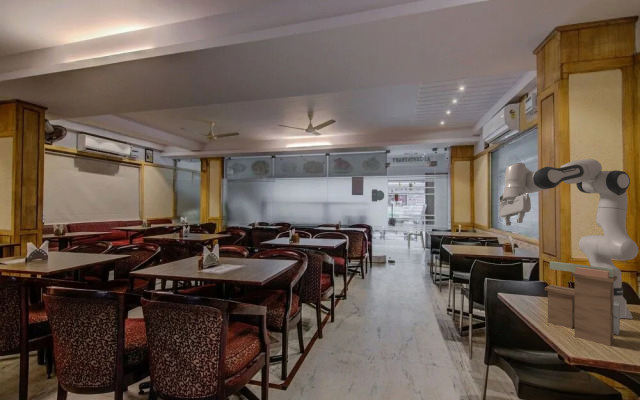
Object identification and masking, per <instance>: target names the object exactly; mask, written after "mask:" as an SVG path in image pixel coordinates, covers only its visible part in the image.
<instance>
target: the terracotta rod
mask: <svg viewBox="0 0 640 400" xmlns="http://www.w3.org/2000/svg"><path fill="white" fill-rule="evenodd" d="M576 274H580V275H587V276H594V277H601V278H609V271H604V270H596V269H588V268H580V267H576Z"/></svg>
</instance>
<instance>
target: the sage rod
mask: <svg viewBox="0 0 640 400" xmlns="http://www.w3.org/2000/svg"><path fill="white" fill-rule="evenodd" d="M576 267H580V268H588V269H596V270H604V271H609V277H615V269H611V268H602V267H594V266H591V265H584V264H578V263H577V264H576V263H567V262H560V261H549V270H554V271H555V270H556V271H561V272H563V271H565V272H570V273H573V272H576Z"/></svg>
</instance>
